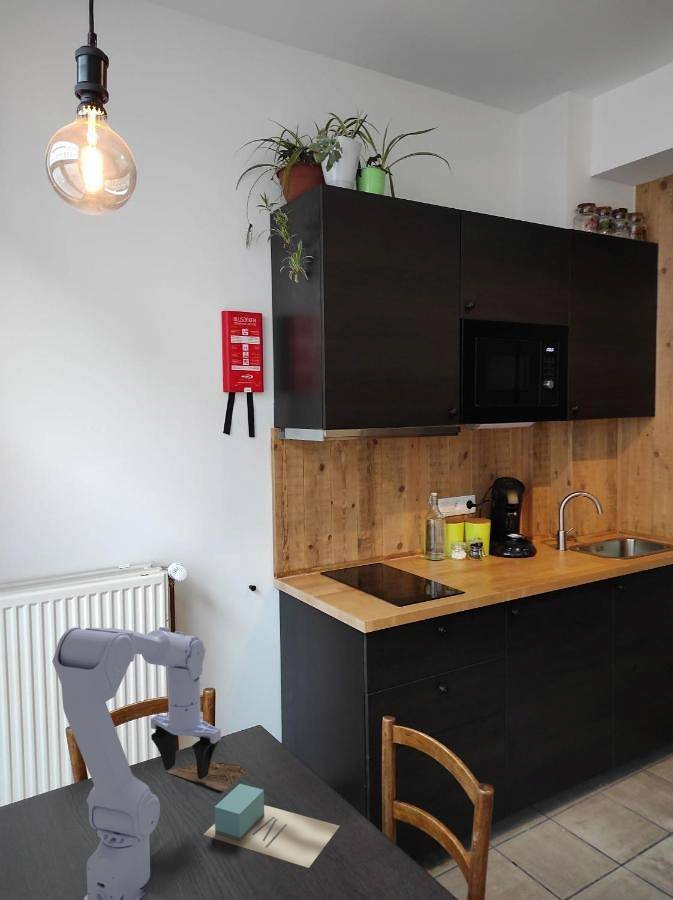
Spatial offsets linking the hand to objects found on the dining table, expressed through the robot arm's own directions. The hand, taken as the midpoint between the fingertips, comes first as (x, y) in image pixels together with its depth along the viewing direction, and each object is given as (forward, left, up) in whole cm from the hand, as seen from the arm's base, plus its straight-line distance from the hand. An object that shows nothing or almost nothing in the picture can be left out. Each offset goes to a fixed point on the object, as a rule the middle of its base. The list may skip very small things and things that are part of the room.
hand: (186, 771), depth 124 cm
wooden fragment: (+15, +2, -10) cm, 18 cm away
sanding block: (+1, -11, -8) cm, 14 cm away
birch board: (+2, -17, -9) cm, 20 cm away
